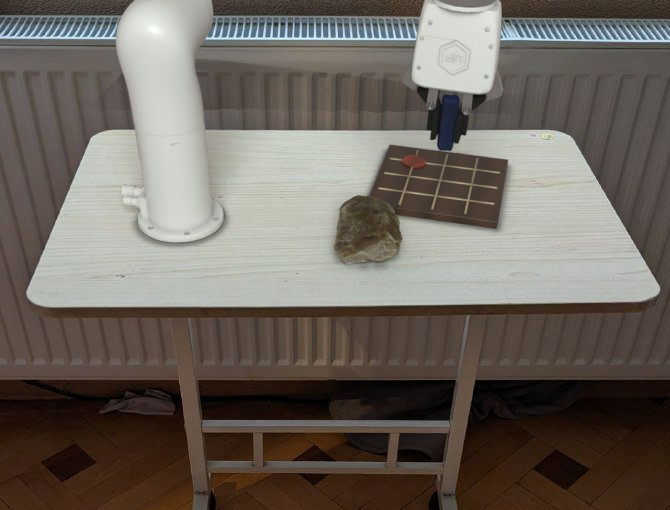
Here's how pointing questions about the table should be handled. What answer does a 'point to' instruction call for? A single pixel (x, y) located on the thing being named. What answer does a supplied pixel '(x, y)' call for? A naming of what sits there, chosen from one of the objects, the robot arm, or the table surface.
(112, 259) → the table surface
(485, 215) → the board
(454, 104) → the eraser
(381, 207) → the stone
